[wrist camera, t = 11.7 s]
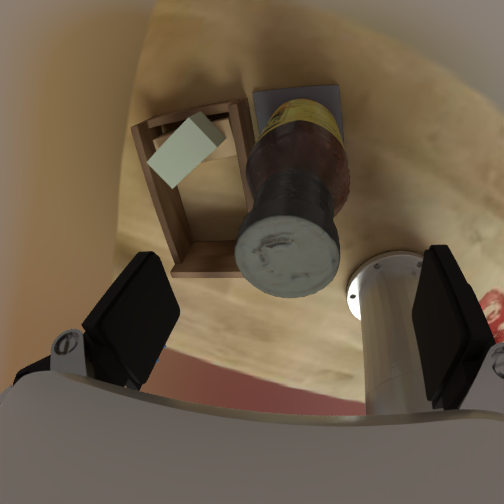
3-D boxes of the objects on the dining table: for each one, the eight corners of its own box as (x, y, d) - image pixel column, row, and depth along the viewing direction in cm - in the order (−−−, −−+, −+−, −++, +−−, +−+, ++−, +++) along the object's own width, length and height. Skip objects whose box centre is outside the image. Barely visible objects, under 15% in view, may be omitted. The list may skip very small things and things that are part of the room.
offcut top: (200, 111, 25) (188, 117, 22) (226, 138, 26) (217, 147, 23) (160, 152, 28) (146, 162, 25) (184, 176, 29) (172, 188, 26)
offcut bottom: (237, 112, 27) (228, 119, 25) (245, 144, 29) (238, 154, 27) (167, 131, 30) (152, 140, 27) (177, 160, 32) (163, 171, 29)
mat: (337, 84, 24) (338, 85, 23) (344, 163, 28) (345, 164, 28) (253, 92, 26) (252, 92, 25) (266, 167, 30) (265, 169, 30)
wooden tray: (247, 97, 26) (232, 106, 21) (272, 244, 36) (264, 277, 31) (151, 117, 29) (122, 131, 24) (189, 247, 38) (172, 277, 33)
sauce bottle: (276, 90, 25) (208, 147, 9) (343, 105, 24) (401, 192, 9) (265, 154, 29) (200, 295, 13) (327, 167, 28) (339, 326, 13)
